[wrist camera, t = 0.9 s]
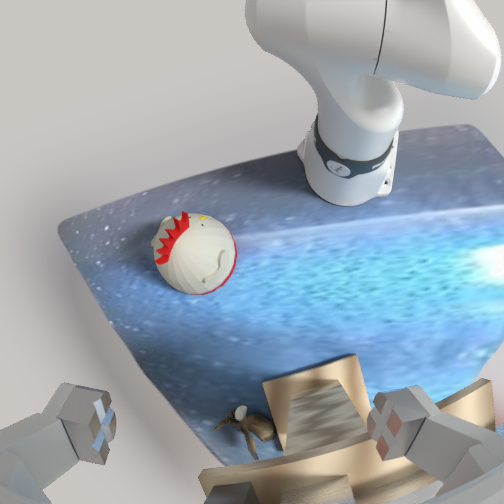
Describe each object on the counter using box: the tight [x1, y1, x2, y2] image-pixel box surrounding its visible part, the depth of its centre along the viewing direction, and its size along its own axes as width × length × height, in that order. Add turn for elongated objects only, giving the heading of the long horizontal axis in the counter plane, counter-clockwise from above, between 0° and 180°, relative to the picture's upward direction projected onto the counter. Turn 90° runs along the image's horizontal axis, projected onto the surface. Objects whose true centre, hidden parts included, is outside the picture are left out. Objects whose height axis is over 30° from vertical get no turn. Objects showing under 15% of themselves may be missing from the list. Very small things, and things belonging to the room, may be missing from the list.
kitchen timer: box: [151, 211, 237, 295], centre depth 48 cm, size 14×14×15 cm
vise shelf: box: [198, 354, 495, 504], centre depth 29 cm, size 24×14×37 cm, turn 107°
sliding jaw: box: [280, 423, 504, 504], centre depth 12 cm, size 26×7×8 cm, turn 107°
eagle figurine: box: [213, 405, 277, 461], centre depth 45 cm, size 8×7×9 cm
